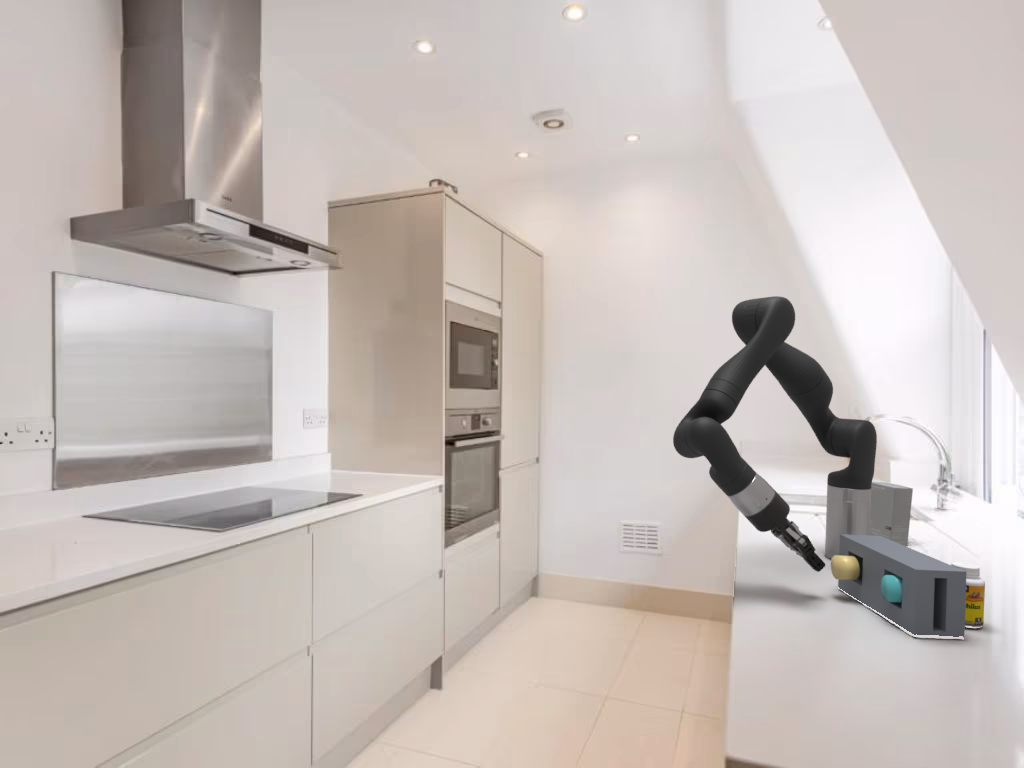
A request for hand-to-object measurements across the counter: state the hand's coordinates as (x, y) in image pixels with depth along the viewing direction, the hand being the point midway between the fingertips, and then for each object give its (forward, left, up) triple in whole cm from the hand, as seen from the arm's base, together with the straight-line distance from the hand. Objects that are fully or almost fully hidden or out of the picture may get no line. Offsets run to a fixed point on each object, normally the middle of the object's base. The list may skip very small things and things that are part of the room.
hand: (820, 567), depth 118 cm
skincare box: (-60, -21, -6) cm, 64 cm away
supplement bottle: (-12, +19, -6) cm, 23 cm away
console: (-6, +11, -6) cm, 13 cm away
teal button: (0, +14, -2) cm, 14 cm away
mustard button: (-4, +2, -2) cm, 5 cm away
